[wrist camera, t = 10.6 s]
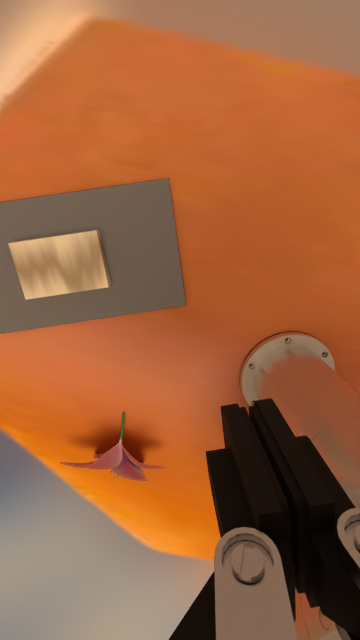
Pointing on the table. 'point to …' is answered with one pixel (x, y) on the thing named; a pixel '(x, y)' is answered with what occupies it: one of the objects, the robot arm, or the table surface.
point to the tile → (61, 264)
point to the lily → (118, 462)
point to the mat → (119, 246)
